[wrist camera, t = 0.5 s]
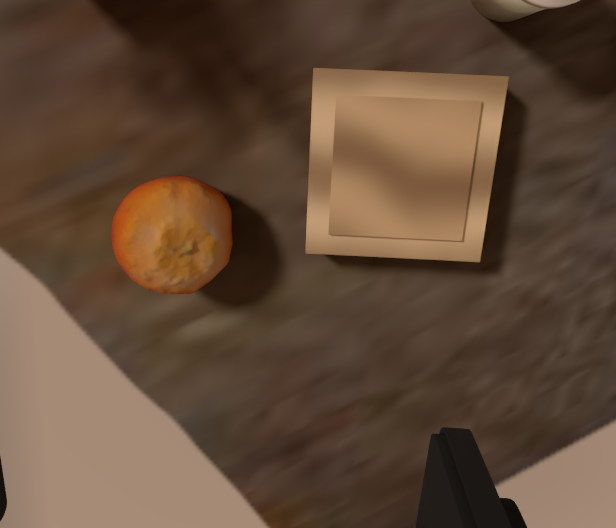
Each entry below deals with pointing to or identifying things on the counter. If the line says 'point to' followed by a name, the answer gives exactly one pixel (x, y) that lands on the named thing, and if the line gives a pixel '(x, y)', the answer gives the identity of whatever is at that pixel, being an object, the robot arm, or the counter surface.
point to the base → (402, 163)
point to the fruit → (173, 234)
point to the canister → (515, 8)
